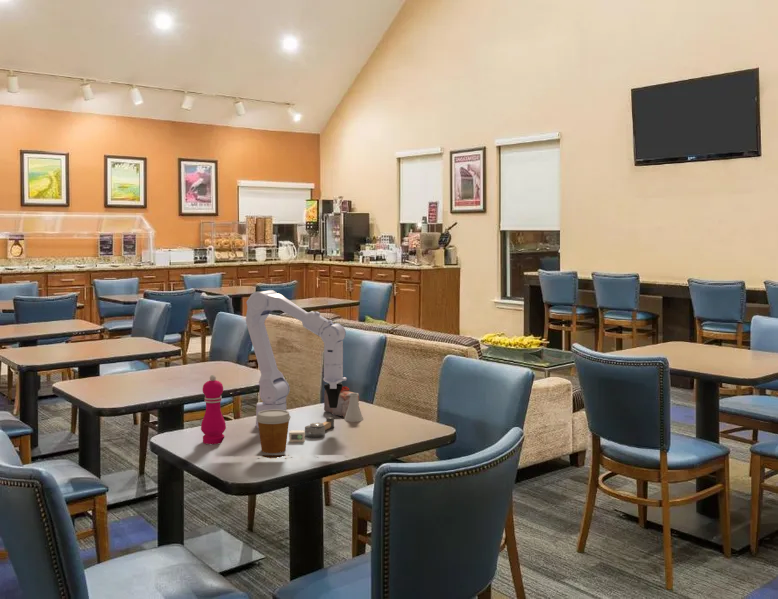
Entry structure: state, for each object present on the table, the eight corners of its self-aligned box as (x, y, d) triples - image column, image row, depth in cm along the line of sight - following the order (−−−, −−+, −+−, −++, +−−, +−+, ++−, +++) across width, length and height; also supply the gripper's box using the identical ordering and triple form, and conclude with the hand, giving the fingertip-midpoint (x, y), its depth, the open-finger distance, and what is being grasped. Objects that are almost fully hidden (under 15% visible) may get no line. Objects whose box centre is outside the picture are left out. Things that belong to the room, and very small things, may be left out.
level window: (289, 443, 223) (289, 433, 222) (289, 440, 226) (289, 430, 226) (304, 443, 223) (304, 433, 223) (304, 440, 226) (304, 430, 226)
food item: (362, 416, 262) (362, 387, 262) (343, 419, 257) (343, 390, 257) (338, 409, 273) (338, 381, 272) (320, 412, 268) (320, 384, 267)
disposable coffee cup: (267, 449, 221) (267, 407, 220) (296, 452, 218) (296, 410, 217) (249, 457, 212) (249, 415, 211) (280, 461, 209) (279, 418, 208)
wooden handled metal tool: (319, 438, 227) (319, 428, 226) (301, 436, 229) (301, 426, 229) (340, 427, 240) (340, 417, 240) (323, 425, 242) (323, 416, 242)
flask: (366, 421, 255) (366, 391, 254) (363, 427, 247) (363, 396, 247) (344, 421, 255) (344, 391, 254) (341, 426, 248) (341, 395, 247)
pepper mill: (231, 440, 230) (230, 374, 228) (213, 446, 224) (212, 378, 222) (214, 437, 234) (213, 372, 232) (196, 442, 228) (194, 375, 226)
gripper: (346, 367, 228) (346, 412, 229) (346, 359, 242) (346, 402, 243) (322, 367, 227) (322, 413, 228) (323, 359, 242) (323, 402, 243)
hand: (333, 407), depth 236 cm, fingers closed
